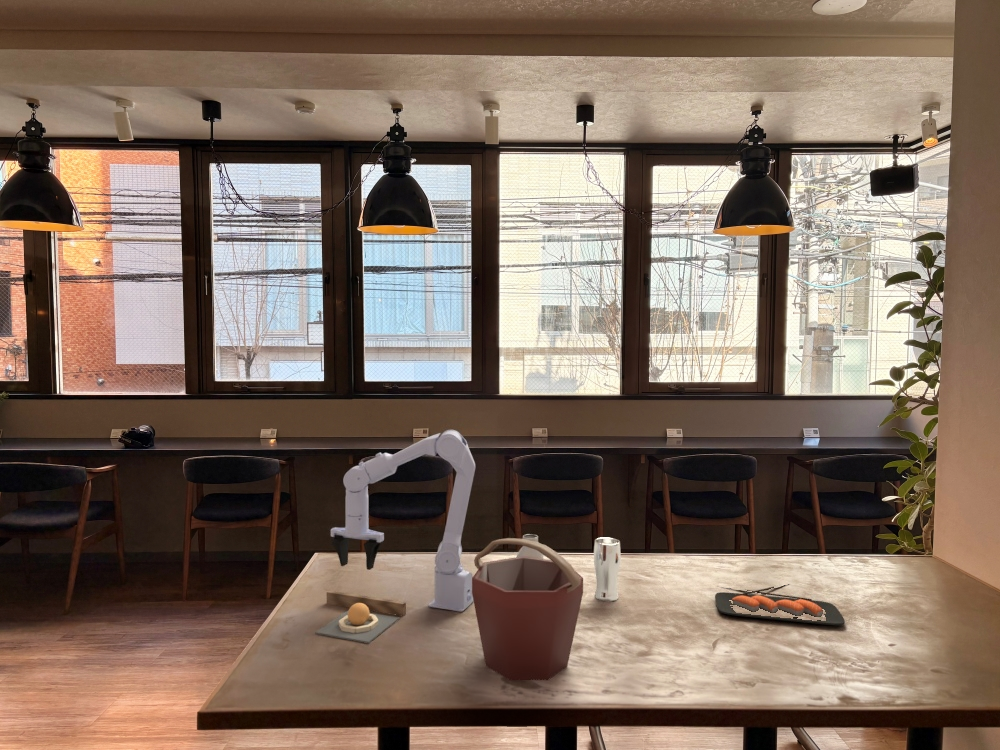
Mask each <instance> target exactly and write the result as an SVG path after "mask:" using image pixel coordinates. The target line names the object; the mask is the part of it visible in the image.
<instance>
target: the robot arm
mask: <svg viewBox="0 0 1000 750" xmlns="http://www.w3.org/2000/svg"><path fill="white" fill-rule="evenodd" d="M437 454H438V456H440V458H442V459H443V460H445V461H446V462H448V463H449V464H450V465H451V466H452V468H453V469H454V470H455V472H456V474H455V479H454V484H453V488H452V489H453V490H452V495H451V499H450V502H449V503H450V504H449V508H448V513H447V519H446V524H445V528H444V533H443V537H442V541H441V542H440V543H439V545H438V548H437V553H436V554H435V557H434V564H435V566H434V598H433V600H432V601H430V603H428V605H427V607H429V608H433V609H442V610H446V611H447V610H449V611H454V612H463V611H464V610H466V609H467V608H468V607H469V606H471V604H473V603H474V600H473V595H472V578H473V576H474V575H473V573H472V572H471V571H467V570H465V569H464V566H463V564H462V562H461V557H462V554H463V553H462V552H463V548H462V543H461V541H462V535H463V531H464V526H465V521H466V515H467V511H468V505H469V500H470V496H471V491H472V486H473V482H474V477H475V471H476V462H475V460H474V457H473V455H472V453H471V450H470V448H469V444H468V442H467V439H465V438H464V436H463V435H462V434H461V433H460V432H459V431H457V430H456V429H455V430H454V429H447V430H445V431H443V432H442V433H441V432H439V433H436V434H433V435H431V436H428V437H424V438H423V439H421V440H419V441H417V442H415V443H413V444H411V445H410V446H408V447H406V448H404V449H401V450H400V451H398V452H396V453H394V454H392V453H388V452H384V453H382V452H378V453H376V454H375V457H373V458H371V459H369V460H366V461H365V462H364V461H360V462H359V463H358V465H355V466H353V467H351V468H350V469H349V470H347V472H346V473H345V474H344V476H343V480H342V481H343V486H344V488H345V527H332V528H331V529H330V537H332V538H333V539H331V544H332V545H333V547H334V549H335V551H336V553H337V557H338V559H339V560H338V561H339V563H340V566H341V567H344V566H346V565H348V562H349V546H350V540H351V539H355V540H364V541H367V542H364V543H363V547H364V550H365V557H366V558H365V560H366V561H365V563H366V564H365V566H366V570H367V571H369V570H372V569H373V568H374V565H375V561H376V557H377V554H378V552H379V549H380V547H381V546H382V544H383V541H384V540H385V533H384V532H380V531H376V530H372V529H369V490H368V489H369V484H375V483H377V482H378V481H381V480H383V479H385V478H387V477H389V476H393V475H394V474H395V473H396V472H397V469H398V467H399V466H401V465H404V464H406V463H407V462H410V461H412V460H415V459H417V458H419V457H421V456H424V455H426V456H431V457H435V456H437Z"/></svg>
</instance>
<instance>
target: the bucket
mask: <svg viewBox="0 0 1000 750" xmlns="http://www.w3.org/2000/svg"><path fill="white" fill-rule="evenodd" d="M499 545H516V546H517V545H518V546H522V547H523V546H526V547H529V548H532V549H535V550H537V551H539V552H540V553H542V555H543V556H545V557H546V558H548V559H544V558H543V559H539V558H532V557H525V556H522V557H517V556H516V557H510V558H505V559H498V560H492V561H486V562H483V561H482V560H481V559H482V558H484V557H486V556H487V555H489V554H491V553H492V552H493V551H494V550H495V549H497V548H498V546H499ZM473 563H474V566H475V568H476V569H477V571H476V572H475V574H474V575H472V576H473V578H472V595H473V600H474V601H473V605H474V610H475V616H476V621H477V627H478V631H479V636H480V643H481V649H482V653H483V658H484V659H483V660H484V662H485V667H486V668H488V669H490V670H492V671H493V672H494V673H496V674H498V675H500V676H501V677H503V678H505V679H507V680H508V681H549V680H550V679H552V678H553V677H554V676H556V675H557V674H558V673H560V672H561V671H562V670H564V669H565V668H567V667H568V664H569V659H570V655H571V651H572V646H573V642H574V636H575V630H576V628H577V622H578V618H579V613H580V608H581V603H582V600H583V594H584V578H583V576H581V574H579V573H578V572H577V571H576V569H574V567H573V565H572V564H570V562H568V561H567V560H566V559H565V558H564V557H563V556H562V555H560V553H558V552H557V551H556V550H553V549H552V548H551V547H549V546H547V545H546V544H542V543H540V542H538V543H537V542H534V541H530V540H526V539H523V538H513V537H512V538H511V537H507V538H501V539H500V538H499V539H495V540H492V541H491V542H490V543H488V545H486V547H485V548H484V549H483V550H481V551H479V552H478V553H477V554H476V556H474V561H473Z"/></svg>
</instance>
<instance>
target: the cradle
mask: <svg viewBox="0 0 1000 750" xmlns="http://www.w3.org/2000/svg"><path fill="white" fill-rule="evenodd" d="M348 611H349V609H348V610H346V611H345V612H344V613H342V614H340V615H339V616H338V617H336V618H334V619H333V620H331V621H330V622H328V623H327V624H326V625H324V626H322V627H321V628H319V629H318V630H316V631H315V634H316V635H319V636H326V637H329V638H330V637H332V638H337V639H342V640H348V641H352V640H353V641H352V642H358V643H363V642H364V643H365V644H370V643H372V642H373V641H374V640H376V637H377V636H378V635H379V634H380V635H382V634H383V633H384V632H386V631H387V630H388V629H390V628H391V627H392V626H393V625H394V624H395V622H396V621H397V620H398V621H399V620H401V619H400V616H393V615H387V614H382V613H381V614H379V613H376V612H370V614H369V618H368V620H367V621H366V623H364V624H363V625H359V626H357V625H353V624H352V623H351V622H350V621H349V619H348ZM398 621H397V622H398ZM397 622H396V623H397ZM392 624H393V625H392ZM391 625H392V626H391ZM390 626H391V627H390ZM387 628H388V629H387ZM386 629H387V630H386ZM385 630H386V631H385ZM383 631H384V632H383ZM382 632H383V633H382ZM381 633H382V634H381ZM380 635H379V636H380ZM379 636H378V637H379ZM378 637H377V638H378ZM372 640H373V641H372ZM371 641H372V642H371Z"/></svg>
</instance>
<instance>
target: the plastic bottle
mask: <svg viewBox="0 0 1000 750" xmlns="http://www.w3.org/2000/svg"><path fill="white" fill-rule="evenodd" d="M522 539H526V540H530V541H534V542H537V543H539V536H538V535H537V534H532V533H531V534H530V533H527V534H524V535H522ZM522 556H525V557H532V558H539V559H544V555H543V554H542V553H540V552H539V551H537V550H535V549H532V548H529V547H526V546H522V547H521V548H520V549H519V550H518V553H517V555H516V557H522Z"/></svg>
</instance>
